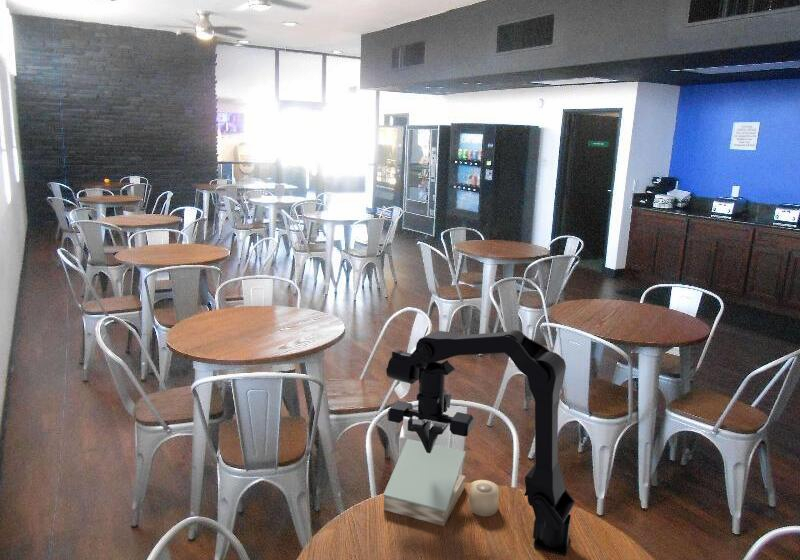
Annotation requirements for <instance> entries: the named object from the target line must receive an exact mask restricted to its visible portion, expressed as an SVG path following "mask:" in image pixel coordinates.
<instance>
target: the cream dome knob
mask: <svg viewBox="0 0 800 560" xmlns="http://www.w3.org/2000/svg"><path fill="white" fill-rule="evenodd" d="M499 492H500V489H499V486H498V485H497V484H496V483H494V482H493V481H490V480H487V479H478V480H475V481H472V482H471V483H470V485H469V496H468V498H469V499H468V509H469V510H470V511H471V513H472V514H474V515H477V516H480V517H491V516H493V515H495V514H496V513H497V512H498V506H499V505H498V504H499Z"/></svg>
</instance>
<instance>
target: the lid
mask: <svg viewBox="0 0 800 560" xmlns="http://www.w3.org/2000/svg"><path fill="white" fill-rule="evenodd" d="M466 454H467V452H466V451H465V450H461V449H456V448H451V447H448V446H447V447H446V446H444V445H443V446H442V445H438V444H434V446H433V449H432V451H431V453H427V452H426V450H425V448H424V446H423V444H422V442H420V441H416V440H411V439H407V441H406V443H405V446H404V448H403V450H402V452H401V455H400V457H399V456H398V460H397V462H396V465H395V466H394V469H393V471H392V474H391V476H390V478H389V481H388V483H387V485H386V487H385V490H384V491H383V498H384V497H388V498H392V499H396V500H399V501H403V502H407V503H411V504H415V505H419V506H422V507H426V508H430V509H434V510H438V511H441V512H445V513H446V511H447V508H448V505H449V502H450V499H451V496H452V493H453V490H454V487H455V484H456V481H457V478H458V475H460V472H461V469H462V467H463V464H464V461H465V457H466Z"/></svg>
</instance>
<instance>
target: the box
mask: <svg viewBox="0 0 800 560" xmlns="http://www.w3.org/2000/svg"><path fill="white" fill-rule="evenodd" d="M465 483H466V475H463V474H459V475H458V478H457V481H456V484H455V487H454V490H453V493H452V496H451V499H450V502H449V505H448V508H447V511H446V513H445V512H441V511H438V510H434V509H430V508H426V507H422V506H419V505H415V504H411V503H407V502H403V501H399V500H396V499H392V498H388V497H384V496H383V511H387V512H391V513H393V514H397V515H402V516H406V517H409V518H412V519H413V518H414V519H416V520H420V521H423V522H427V523H432V524H435V525H437V526H442V527H444V526H445V525H446V523H447V521H448V520H449V517H450V516H451V514H452V512H453V510H454V508H455V507H456V504H457V503H458V501H459V499H460V496H461V495H462V493H463V491H464V490H465V486H466V484H465Z"/></svg>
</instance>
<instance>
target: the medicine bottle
mask: <svg viewBox="0 0 800 560" xmlns="http://www.w3.org/2000/svg"><path fill="white" fill-rule="evenodd" d="M412 424H413V419H412V418H409V417H404V420H403V421H402V425H401V429H400V433H399V440H398V442H399V443H398V458H399V457H400V455H401V452H402V450H403V448H404V446H405V443H406V441H407V439H411V440H416V441H420V442H422V441H421V439H420V438H419V436H418V434H417V433H416V431H415V430H414V429H412V428H411V425H412Z"/></svg>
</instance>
